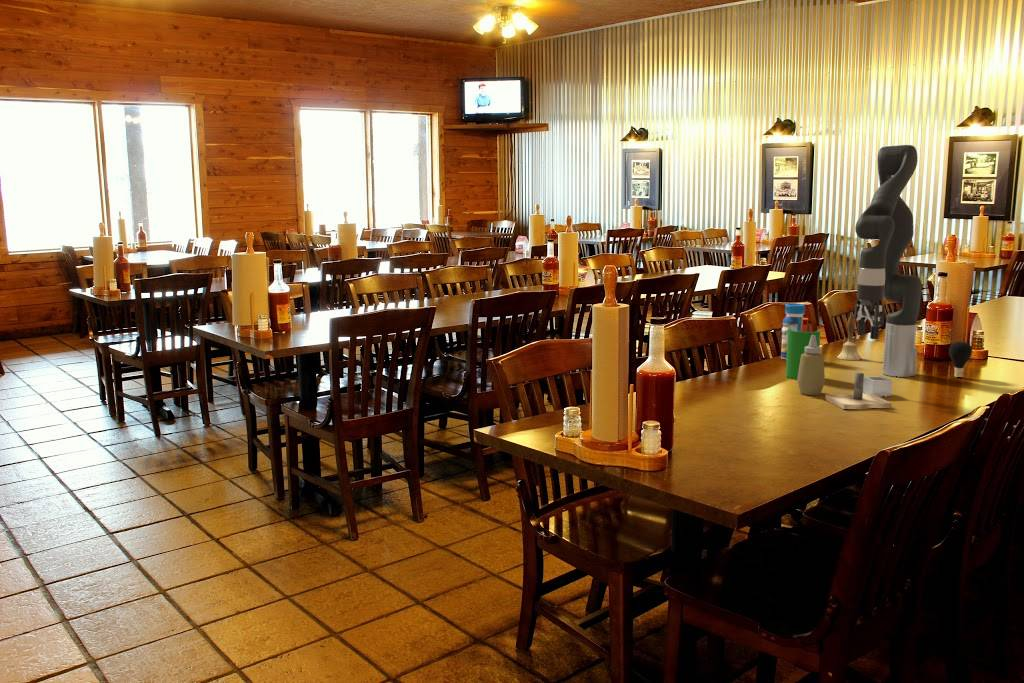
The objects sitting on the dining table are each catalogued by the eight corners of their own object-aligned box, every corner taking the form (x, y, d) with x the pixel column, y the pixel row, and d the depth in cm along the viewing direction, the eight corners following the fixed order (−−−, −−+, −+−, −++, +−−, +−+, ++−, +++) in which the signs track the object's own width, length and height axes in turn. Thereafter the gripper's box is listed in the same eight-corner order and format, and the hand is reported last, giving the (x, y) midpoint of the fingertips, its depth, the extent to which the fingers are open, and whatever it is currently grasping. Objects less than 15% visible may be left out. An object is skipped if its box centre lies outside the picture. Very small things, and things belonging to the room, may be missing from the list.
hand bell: (834, 355, 327) (837, 313, 324) (858, 356, 326) (861, 313, 323) (839, 360, 319) (842, 316, 316) (863, 360, 318) (866, 316, 315)
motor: (814, 374, 296) (818, 315, 292) (821, 380, 287) (824, 319, 284) (783, 374, 297) (786, 315, 293) (789, 380, 288) (792, 319, 285)
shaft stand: (870, 398, 263) (872, 368, 262) (891, 408, 252) (893, 377, 250) (825, 399, 262) (826, 369, 260) (844, 409, 250) (846, 378, 249)
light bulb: (947, 378, 288) (950, 342, 286) (946, 374, 294) (949, 339, 292) (970, 380, 286) (973, 344, 283) (968, 376, 292) (971, 340, 290)
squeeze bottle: (825, 391, 272) (829, 334, 268) (822, 397, 264) (826, 338, 261) (798, 389, 275) (801, 332, 272) (794, 395, 268) (797, 336, 265)
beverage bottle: (807, 361, 317) (810, 306, 313) (784, 361, 317) (786, 306, 314) (800, 356, 325) (803, 302, 322) (777, 356, 325) (780, 303, 322)
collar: (880, 392, 271) (882, 376, 270) (891, 396, 265) (892, 380, 264) (862, 392, 270) (863, 376, 269) (871, 397, 264) (873, 381, 264)
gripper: (895, 285, 257) (891, 340, 260) (872, 280, 271) (868, 332, 274) (870, 285, 257) (866, 340, 260) (848, 280, 271) (844, 332, 274)
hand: (867, 336), depth 267 cm, fingers open, 8 cm apart
